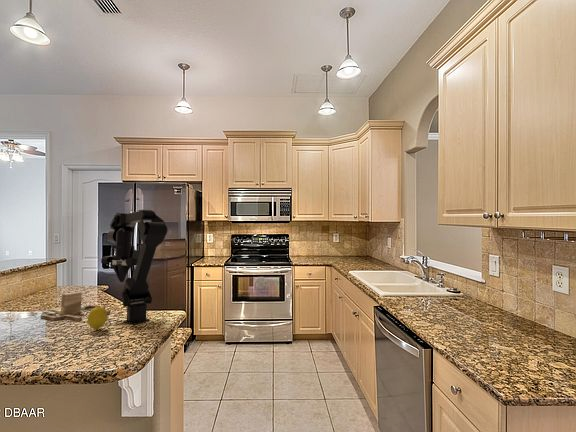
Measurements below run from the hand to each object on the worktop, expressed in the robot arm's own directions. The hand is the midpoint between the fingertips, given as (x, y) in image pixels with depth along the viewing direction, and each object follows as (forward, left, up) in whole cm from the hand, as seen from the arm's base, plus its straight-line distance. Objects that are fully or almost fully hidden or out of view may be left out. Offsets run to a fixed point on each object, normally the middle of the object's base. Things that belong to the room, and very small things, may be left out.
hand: (121, 281), depth 123 cm
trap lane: (+16, +7, -13) cm, 22 cm away
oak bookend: (+24, +7, -13) cm, 28 cm away
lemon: (-11, +17, -13) cm, 24 cm away
